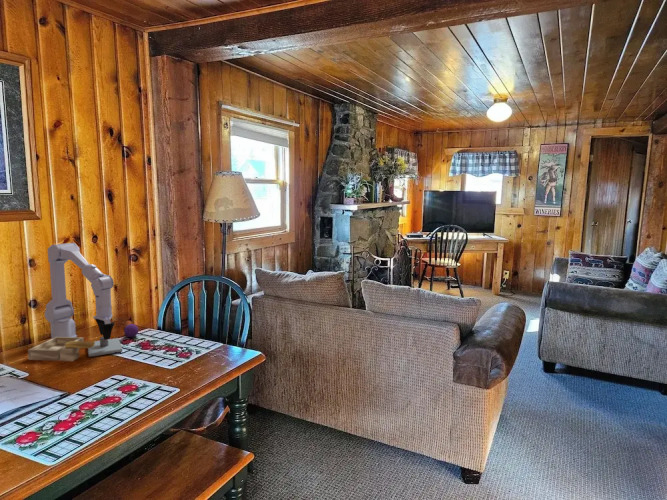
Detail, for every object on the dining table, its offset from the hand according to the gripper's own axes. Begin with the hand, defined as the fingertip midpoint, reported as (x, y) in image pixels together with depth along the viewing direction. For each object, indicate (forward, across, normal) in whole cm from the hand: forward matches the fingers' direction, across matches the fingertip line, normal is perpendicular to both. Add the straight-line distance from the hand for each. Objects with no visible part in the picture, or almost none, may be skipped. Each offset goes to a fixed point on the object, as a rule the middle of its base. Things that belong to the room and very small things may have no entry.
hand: (105, 336), depth 181 cm
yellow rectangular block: (0, +7, -10) cm, 12 cm away
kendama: (+6, -18, +14) cm, 23 cm away
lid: (+6, 0, -1) cm, 6 cm away
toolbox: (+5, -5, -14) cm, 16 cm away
